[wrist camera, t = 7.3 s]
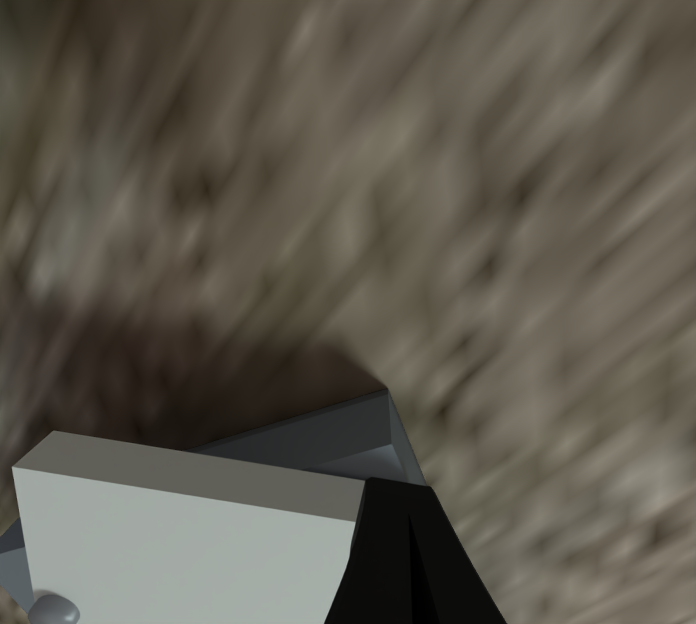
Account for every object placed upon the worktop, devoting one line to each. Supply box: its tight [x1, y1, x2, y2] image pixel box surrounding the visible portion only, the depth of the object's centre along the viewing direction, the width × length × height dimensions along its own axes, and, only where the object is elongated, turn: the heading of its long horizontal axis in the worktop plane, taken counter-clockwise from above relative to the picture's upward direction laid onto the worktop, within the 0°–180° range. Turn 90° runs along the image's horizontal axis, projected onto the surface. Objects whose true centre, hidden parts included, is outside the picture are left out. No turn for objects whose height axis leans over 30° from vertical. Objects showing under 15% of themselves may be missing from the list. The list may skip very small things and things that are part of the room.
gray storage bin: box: [0, 388, 427, 614], centre depth 22 cm, size 20×16×4 cm
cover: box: [12, 430, 365, 624], centre depth 16 cm, size 8×14×2 cm, turn 81°
